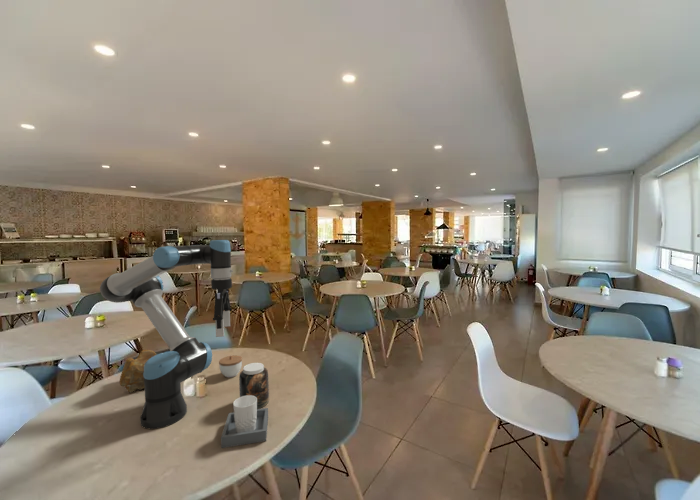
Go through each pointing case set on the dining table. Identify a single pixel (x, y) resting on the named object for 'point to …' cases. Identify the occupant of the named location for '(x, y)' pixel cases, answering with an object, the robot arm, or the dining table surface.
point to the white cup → (245, 413)
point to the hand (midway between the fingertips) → (223, 331)
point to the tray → (235, 439)
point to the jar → (255, 383)
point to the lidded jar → (230, 365)
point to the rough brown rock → (135, 371)
